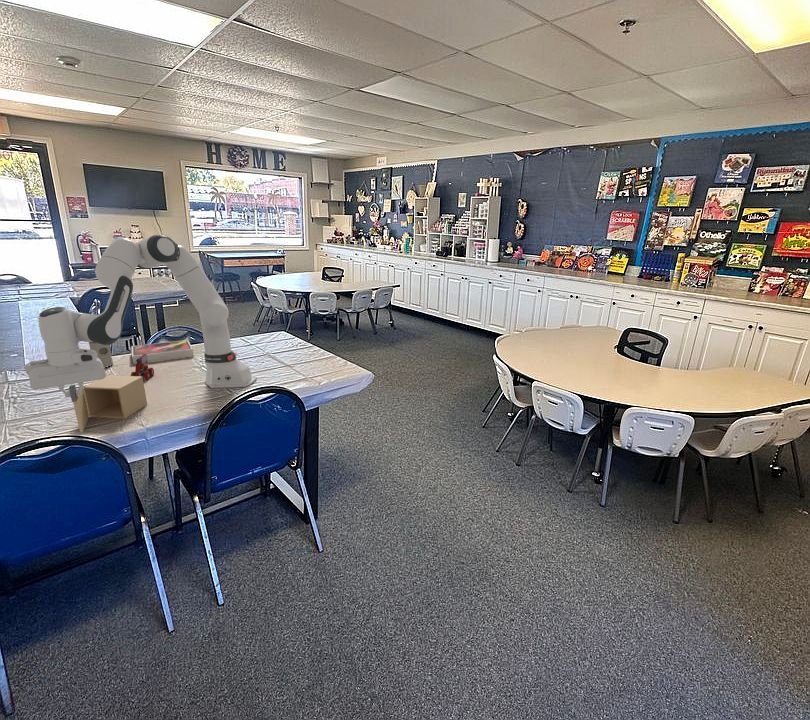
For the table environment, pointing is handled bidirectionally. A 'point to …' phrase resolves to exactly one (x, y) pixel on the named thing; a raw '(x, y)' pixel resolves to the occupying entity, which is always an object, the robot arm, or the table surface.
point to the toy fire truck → (143, 368)
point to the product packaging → (163, 351)
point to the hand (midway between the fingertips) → (73, 395)
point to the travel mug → (102, 353)
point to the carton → (115, 396)
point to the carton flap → (79, 407)
